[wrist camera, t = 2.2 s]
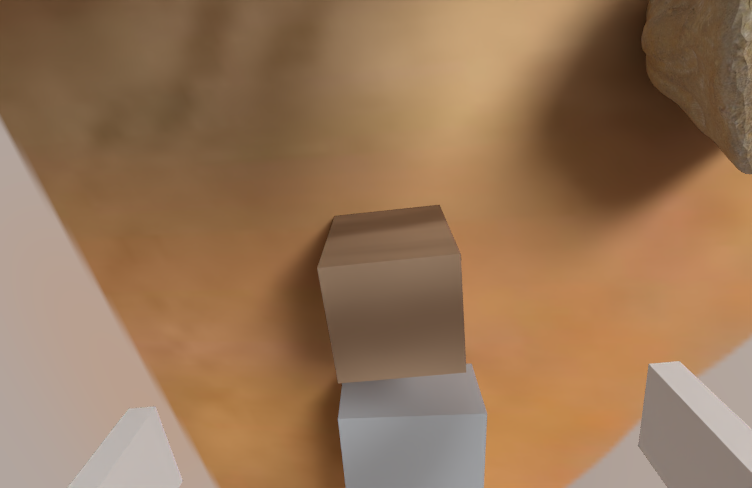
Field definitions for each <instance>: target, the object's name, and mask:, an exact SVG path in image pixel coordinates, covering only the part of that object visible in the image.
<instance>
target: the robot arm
mask: <svg viewBox="0 0 752 488" xmlns="http://www.w3.org/2000/svg"><path fill="white" fill-rule="evenodd" d="M638 446H639V448H640V449H641V451H642V452H643V453H644V455H645V456H646V458H647V459H648V460H649V462H650V463H651V465H652V466H653V468H654V469H655V471H656V472H657V473H658V475H659V476H660V477H661V479H662V480H663V482H664V483H665V485H666V486H667V488H752V429H751V428H750V427H749V426H748V425H747V424H746V423H745V422H744V421H742V420H741V419H740V418H739V417H738V416H737V415H736V414H735V413H734V412H733V411H732V410H731V409H730V408H729V407H728V406H726V405H725V404H724V403H723V402H722V401H721V400H720V399H719V398H718V397H717V396H716V395H715V394H714V393H713V392H712V391H711V390H709V389H708V388H707V387H706V386H705V385H704V384H703V383H702V382H701V381H700V380H699V379H698V378H697V377H696V376H695V375H694V374H692V373H691V372H690V371H689V370H688V369H687V368H686V367H685V366H684V365H683V364H682V363H681V362H680V361H676V362H665V363H653V364H649V366H648V374H647V382H646V389H645V397H644V405H643V413H642V421H641V429H640V436H639V444H638ZM182 481H183V480H182V477H181V474H180V471H179V469H178V466H177V464H176V461H175V458H174V455H173V453H172V450H171V447H170V444H169V442H168V439H167V436H166V434H165V431H164V428H163V425H162V422H161V420H160V417H159V414H158V412H157V409H156V407H155V406H153V407H141V408H129V409H128V410H127V411H126V412H125V414H124V415H123V416H122V418H121V419H120V420H119V421H118V423H117V424H116V425H115V427H114V428H113V429H112V431H111V432H110V433H109V434H108V436H107V437H106V438H105V440H104V441H103V442H102V443H101V445H100V446H99V447H98V449H97V450H96V451H95V452H94V454H93V455H92V456H91V458H90V459H89V460H88V462H87V463H86V464H85V465H84V467H83V468H82V469H81V470H80V472H79V473H78V474H77V476H76V477H75V478H74V480H73V481H72V482H71V483H70V485H69V486H68V487H67V488H180V485H181V483H182Z"/></svg>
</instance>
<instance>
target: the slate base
mask: <svg viewBox="0 0 752 488" xmlns="http://www.w3.org/2000/svg"><path fill="white" fill-rule="evenodd" d="M338 425H339V433H340V442H341V451H342V460H343V469H344V477H345V486H346V488H484V469H485V447H486V426H487V412H486V408H485V405H484V402H483V399H482V396H481V392H480V389H479V386H478V383H477V380H476V376H475V373H474V370H473V367H472V364H466V373H456V374H444V375H432V376H420V377H409V378H397V379H385V380H373V381H362V382H350V383H342V390H341V398H340V406H339V414H338Z"/></svg>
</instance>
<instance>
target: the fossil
mask: <svg viewBox="0 0 752 488" xmlns="http://www.w3.org/2000/svg"><path fill="white" fill-rule="evenodd" d="M646 18H647V20H646V24H645V26H644V29H643V33H642V37H641V44H642V50H643V51H644V52H645V53H646V70H647V74H648V76H649V78H650V80H651V82H652V84H653V85H654V86H655V87H656V88H657V89H658V90H659V91H660V92H661V93H662V94H664V95H665V96H667V97H668V98H670V99H671V100H672V101H674V102H675V103H676V104H678V105H679V107H680V108H681V109H682V110H683V111H684V112H685V113H686V114H687V115H688V117H689V118H690V119H691V120H692V122H693V123H694V124H695V125H696V127H697V128H698V129H699V130H700V131H701V132H702V133H704V134H705V135H707V136H708V137H709V138H711V139H712V140H713V141H714V142H715V143H716V144H717V145H718V146H719V148H720V149H721V150H722V152H723V153H724V154H725V155H726V156H727V157H728V159H729V160H730V161H731V162H732V163H733V164H734V165H735V166H736V168H737V169H738V170H740V171H741V172H743V173H745V174H752V0H649V3H648V6H647V10H646Z"/></svg>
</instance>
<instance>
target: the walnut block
mask: <svg viewBox="0 0 752 488" xmlns="http://www.w3.org/2000/svg"><path fill="white" fill-rule="evenodd" d="M317 270H318V276H319V281H320V287H321V292H322V298H323V303H324V309H325V314H326V320H327V325H328V331H329V336H330V342H331V347H332V353H333V358H334V363H335V369H336V374H337V380H338V383H350V382H362V381H373V380H385V379H397V378H409V377H420V376H432V375H444V374H456V373H466V355H465V334H464V313H463V292H462V272H461V253H460V251H459V249H458V246H457V244H456V242H455V240H454V237H453V235H452V233H451V230H450V228H449V226H448V224H447V221H446V219H445V217H444V214H443V212H442V210H441V207H440V205H433V206H424V207H415V208H405V209H396V210H387V211H377V212H368V213H359V214H349V215H340V216H335V217H334V220H333V223H332V226H331V229H330V231H329V234H328V237H327V240H326V243H325V246H324V249H323V252H322V255H321V258H320V261H319V264H318V267H317Z"/></svg>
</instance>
